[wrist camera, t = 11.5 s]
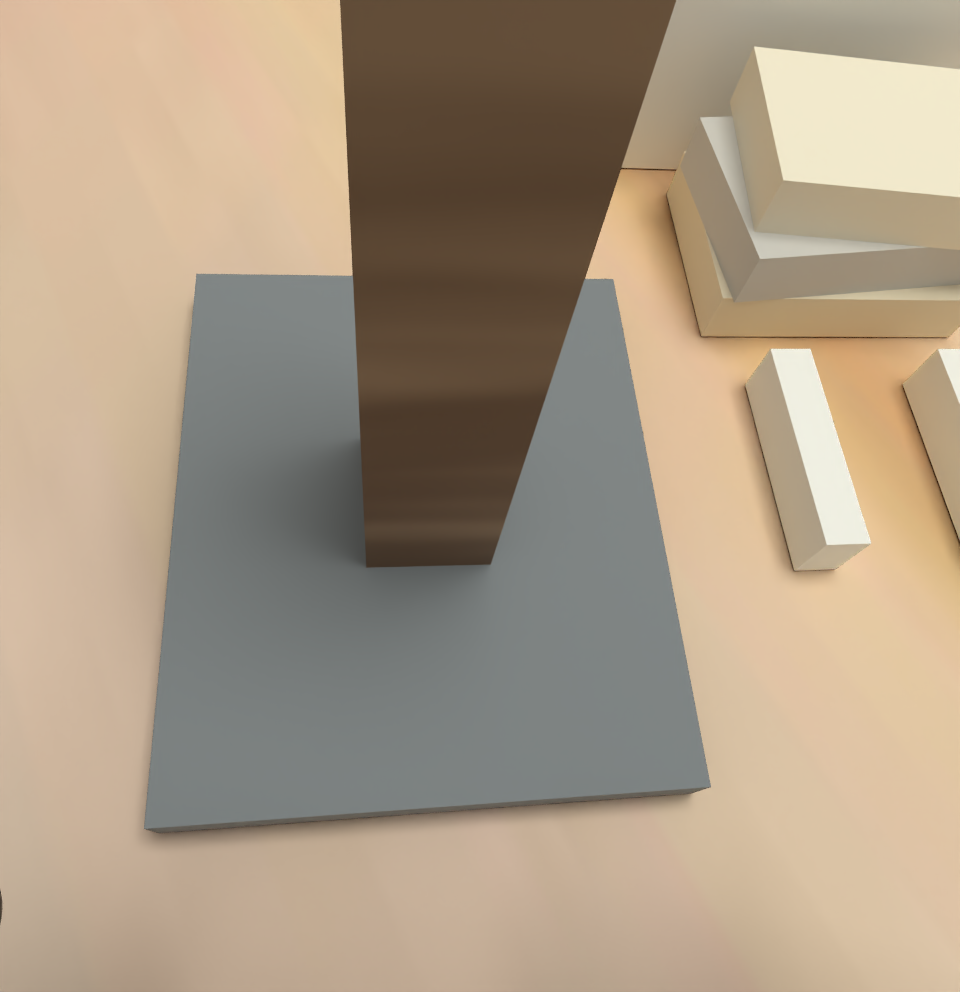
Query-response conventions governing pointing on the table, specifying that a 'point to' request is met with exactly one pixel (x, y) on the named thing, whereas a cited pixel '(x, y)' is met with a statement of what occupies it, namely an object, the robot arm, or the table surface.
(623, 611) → the slate mat
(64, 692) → the table surface
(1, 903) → the robot arm
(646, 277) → the table surface
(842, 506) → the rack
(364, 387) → the walnut block
